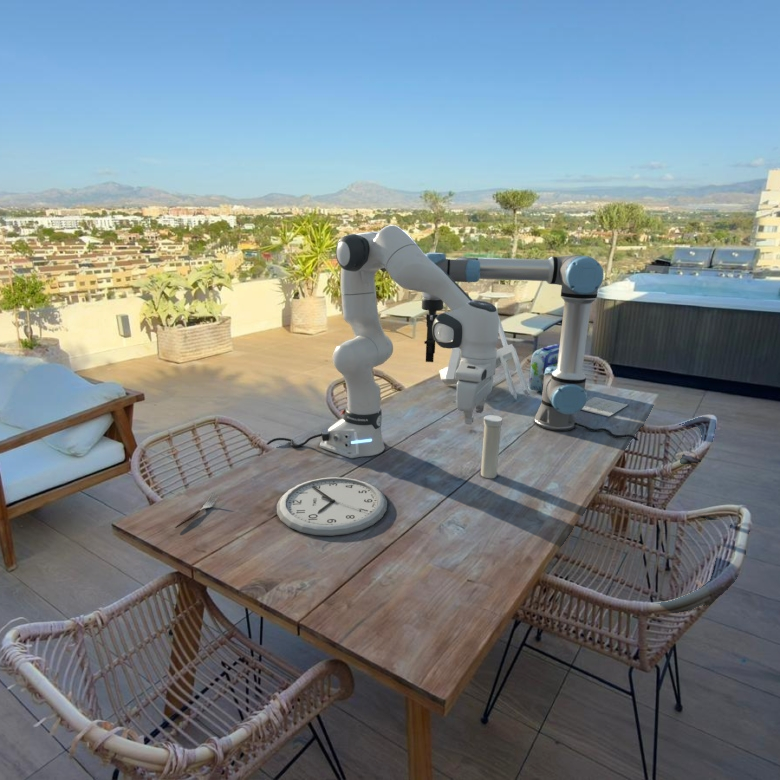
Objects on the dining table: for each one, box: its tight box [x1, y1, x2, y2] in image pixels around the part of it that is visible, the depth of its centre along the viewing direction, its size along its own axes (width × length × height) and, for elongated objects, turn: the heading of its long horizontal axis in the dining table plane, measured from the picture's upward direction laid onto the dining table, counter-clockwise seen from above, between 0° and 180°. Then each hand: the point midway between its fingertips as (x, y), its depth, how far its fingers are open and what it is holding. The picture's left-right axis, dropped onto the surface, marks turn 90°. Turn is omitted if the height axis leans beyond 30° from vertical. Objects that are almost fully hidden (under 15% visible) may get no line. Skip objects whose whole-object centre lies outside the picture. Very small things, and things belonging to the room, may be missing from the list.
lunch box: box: [528, 344, 560, 393], centre depth 247 cm, size 26×11×21 cm, turn 134°
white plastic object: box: [438, 315, 531, 400], centre depth 245 cm, size 37×45×31 cm
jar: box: [480, 423, 502, 479], centre depth 159 cm, size 5×5×18 cm
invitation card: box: [580, 396, 629, 418], centre depth 226 cm, size 21×1×15 cm
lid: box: [483, 414, 503, 427], centre depth 157 cm, size 5×5×2 cm
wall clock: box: [276, 476, 388, 537], centre depth 142 cm, size 30×2×30 cm
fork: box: [174, 492, 220, 529], centre depth 137 cm, size 3×16×2 cm, turn 160°
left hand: (474, 417), depth 136 cm, fingers open, 8 cm apart
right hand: (430, 357), depth 190 cm, fingers open, 13 cm apart
